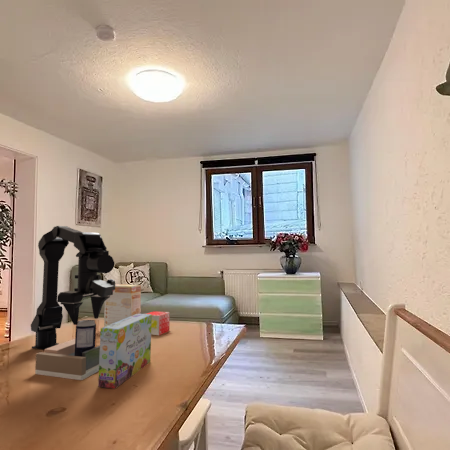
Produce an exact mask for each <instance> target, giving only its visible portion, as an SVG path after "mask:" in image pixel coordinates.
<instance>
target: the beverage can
mask: <svg viewBox="0 0 450 450" xmlns="http://www.w3.org/2000/svg"><path fill="white" fill-rule="evenodd" d="M95 321H96V320H95V319H83V320H78V323H77V325H75V335H74V336H75V338H74V339H75V355H74V356H80V357H82V353H83V352H85V351H87V350H90V349H92V348H95V347H96V336H97V335H96V334H97V333H96V332H97V324H96V322H95Z"/></svg>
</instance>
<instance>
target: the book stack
mask: <svg viewBox="0 0 450 450" xmlns="http://www.w3.org/2000/svg"><path fill="white" fill-rule="evenodd" d="M43 351H44V353H53V354H62V355H71V356H74V355H75V338H72V339H70V340H67V341H64V342H60V343H59V344H58V345H55V346H52V347H50V348H47V349H43Z"/></svg>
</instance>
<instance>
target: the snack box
mask: <svg viewBox="0 0 450 450" xmlns="http://www.w3.org/2000/svg"><path fill="white" fill-rule="evenodd" d="M151 322H152V314H147V313H141V314H135V315H133V316H130V317H128V318H125V319H123V320H120V321H118V322H115V323H113V324H110V325H108V326H105V327H104V326H103V327H100V334H99V335H100V336H99V345H100V356H99V371H98V380H97V381H98V385H97V387H99V388H106V389H114V390H115V389H117V388H118V387H120V385H122V384H123V383H125V382H126V381H127V380H129V379H130V378H131V377H133V376H134V375H135V374H137V373H138V372H139V371H141V370H142V369H143V368H144V367H146V366H147V365H149V364H150V363H151V359H152V357H151V351H152V349H151V348H152V347H151V346H152V334H151Z"/></svg>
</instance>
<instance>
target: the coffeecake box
mask: <svg viewBox="0 0 450 450" xmlns="http://www.w3.org/2000/svg"><path fill="white" fill-rule="evenodd" d="M141 293H142V285H141V284H126V283H125V284H124V283H122V284H121V283H115V290H113V295H110V298H108V299H107V300H105V301H104V313H103V315H104V317H103V321H104V322H103V327H105V326H108V325H110V324H113V323H115V322H118V321H120V320H123V319H125V318H128V317H130V316H133V315H135V314H142V313H141V311H142V310H141V308H142V304H141V303H142V302H141V301H142V294H141Z"/></svg>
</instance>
